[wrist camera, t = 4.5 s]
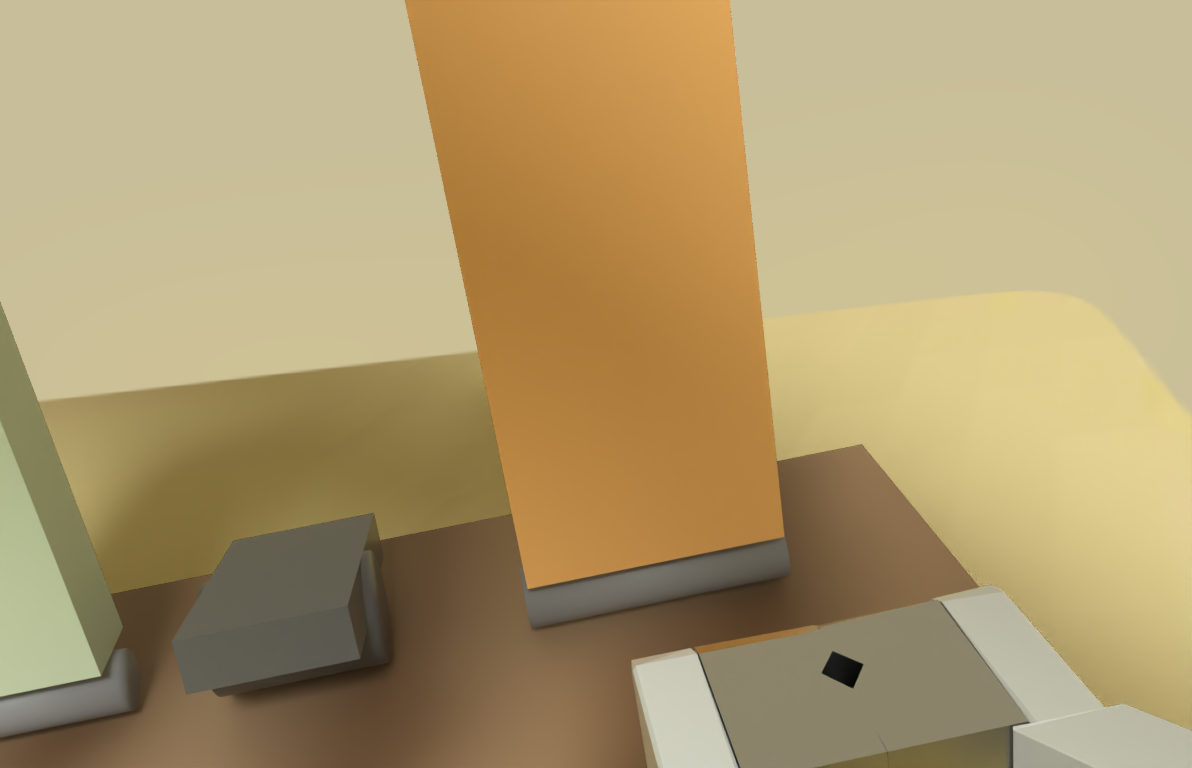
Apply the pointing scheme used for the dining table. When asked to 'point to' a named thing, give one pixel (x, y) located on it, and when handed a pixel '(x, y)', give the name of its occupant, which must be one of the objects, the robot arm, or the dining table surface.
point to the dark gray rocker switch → (288, 610)
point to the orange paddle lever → (610, 290)
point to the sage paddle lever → (49, 580)
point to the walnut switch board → (504, 649)
